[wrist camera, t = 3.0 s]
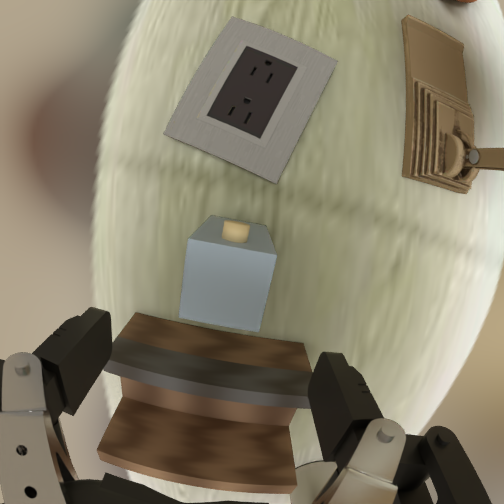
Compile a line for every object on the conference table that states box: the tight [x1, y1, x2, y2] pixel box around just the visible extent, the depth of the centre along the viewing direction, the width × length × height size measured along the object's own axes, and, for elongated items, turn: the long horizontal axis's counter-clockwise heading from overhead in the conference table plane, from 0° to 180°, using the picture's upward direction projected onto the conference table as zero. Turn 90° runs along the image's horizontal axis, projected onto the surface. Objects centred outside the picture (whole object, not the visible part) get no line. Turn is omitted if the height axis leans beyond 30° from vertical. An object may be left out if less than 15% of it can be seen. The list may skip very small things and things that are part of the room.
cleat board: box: [97, 313, 313, 494], centre depth 23 cm, size 18×10×13 cm, turn 79°
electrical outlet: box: [163, 17, 338, 184], centre depth 21 cm, size 13×10×2 cm
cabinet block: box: [179, 215, 277, 332], centre depth 21 cm, size 5×6×10 cm
